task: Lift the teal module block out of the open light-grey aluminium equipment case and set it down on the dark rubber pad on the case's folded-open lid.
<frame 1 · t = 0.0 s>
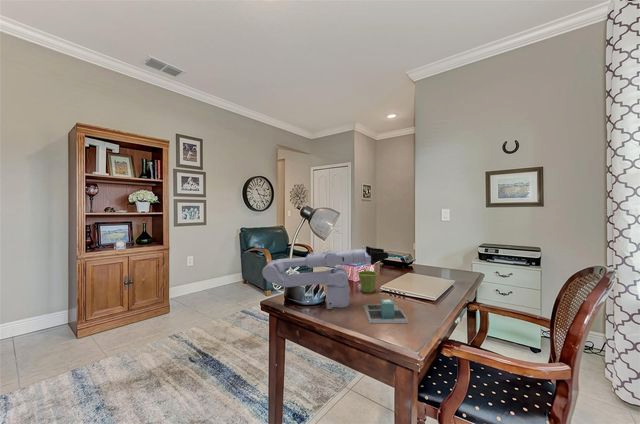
hand: (385, 253, 108), 22 cm above the table, tool horizontal, fingers open, 7 cm apart
module: (387, 317, 95), point 1 cm above the table, touching case
lid: (381, 310, 103), on the table
plant pot: (367, 291, 127), on the table
case: (386, 319, 95), on the table
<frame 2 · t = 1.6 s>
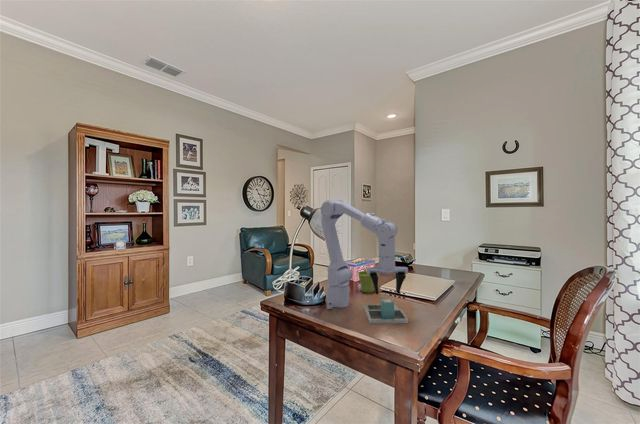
hand: (387, 292, 95), 10 cm above the table, tool pointing down, fingers open, 7 cm apart
nothing on the table moved.
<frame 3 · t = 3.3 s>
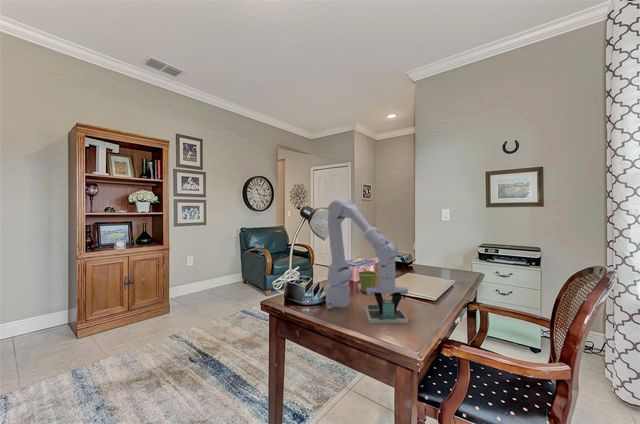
hand: (387, 313, 95), 2 cm above the table, tool pointing down, fingers closed on module, 4 cm apart
module: (387, 317, 95), point 1 cm above the table, touching case, gripper
everything else where it was.
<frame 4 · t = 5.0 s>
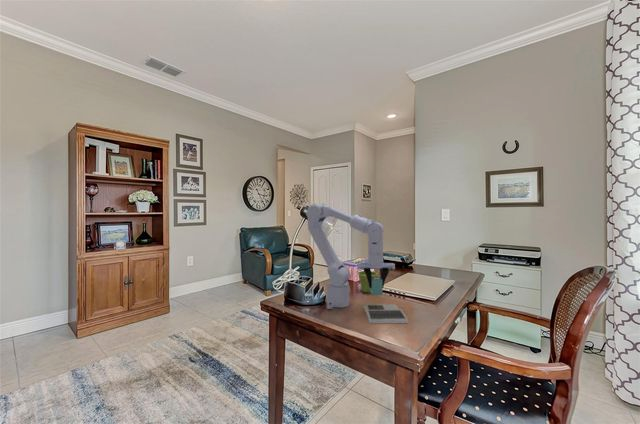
hand: (376, 287, 103), 9 cm above the table, tool pointing down, fingers closed on module, 4 cm apart
module: (376, 293, 103), point 7 cm above the table, touching gripper
everything else where it was.
when the fingers open (4 cm above the table, at t = 6.8 s): module stays where it is, resting on lid.
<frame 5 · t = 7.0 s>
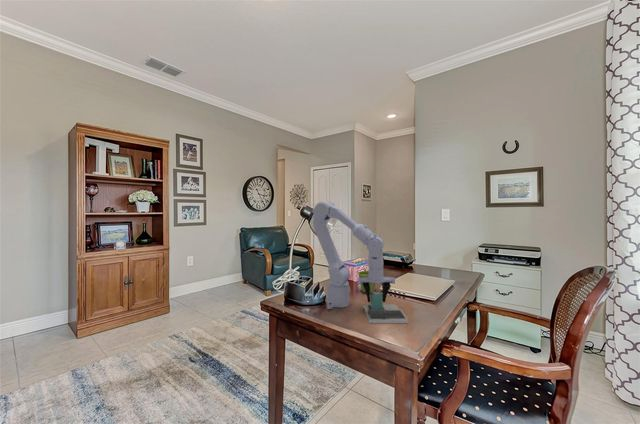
hand: (376, 301, 103), 4 cm above the table, tool pointing down, fingers open, 5 cm apart
module: (376, 308, 103), point 1 cm above the table, touching lid
everything else where it was.
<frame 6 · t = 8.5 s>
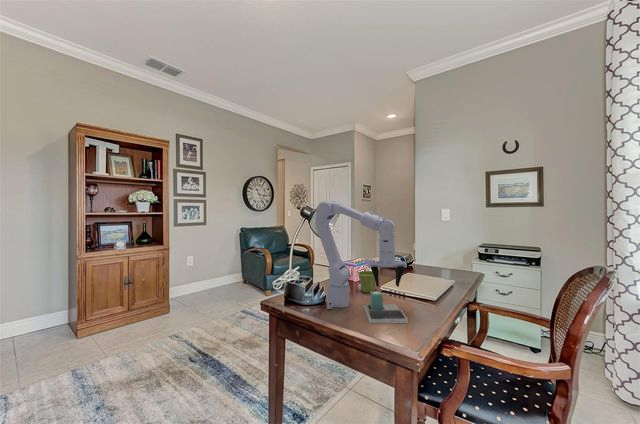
hand: (387, 285, 101), 10 cm above the table, tool pointing down, fingers open, 7 cm apart
nothing on the table moved.
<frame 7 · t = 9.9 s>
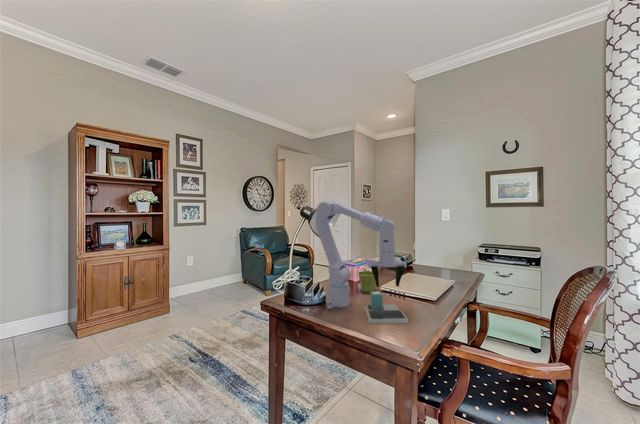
hand: (387, 285, 101), 10 cm above the table, tool pointing down, fingers open, 7 cm apart
nothing on the table moved.
at the end: module inside the target area (0.4 cm from its centre), point 0.9 cm above the table; module tilted 0°; the gripper is holding nothing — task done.
